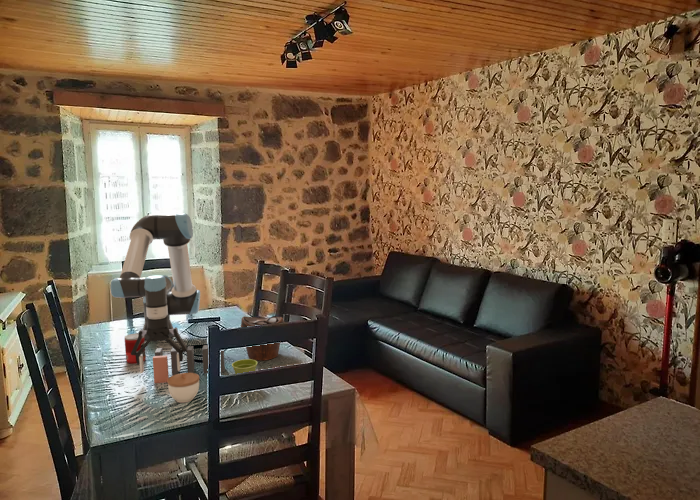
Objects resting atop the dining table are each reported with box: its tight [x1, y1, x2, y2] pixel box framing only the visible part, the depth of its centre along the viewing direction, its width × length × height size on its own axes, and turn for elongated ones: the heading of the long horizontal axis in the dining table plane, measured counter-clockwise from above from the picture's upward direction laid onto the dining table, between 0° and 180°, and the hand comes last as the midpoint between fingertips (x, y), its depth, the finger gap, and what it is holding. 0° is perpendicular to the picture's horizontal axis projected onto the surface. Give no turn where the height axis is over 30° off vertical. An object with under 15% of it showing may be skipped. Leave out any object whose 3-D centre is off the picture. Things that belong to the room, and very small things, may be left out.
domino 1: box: [154, 347, 164, 356], centre depth 210 cm, size 5×2×10 cm, turn 10°
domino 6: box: [220, 350, 226, 373], centre depth 214 cm, size 5×2×10 cm, turn 10°
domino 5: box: [201, 344, 209, 374], centre depth 213 cm, size 5×2×10 cm, turn 9°
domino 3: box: [170, 347, 180, 376], centre depth 211 cm, size 5×2×10 cm, turn 9°
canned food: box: [124, 332, 147, 365], centre depth 225 cm, size 8×8×11 cm
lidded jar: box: [167, 372, 200, 403], centre depth 187 cm, size 11×11×9 cm
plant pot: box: [231, 358, 258, 374], centre depth 198 cm, size 9×9×9 cm
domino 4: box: [186, 345, 196, 373], centre depth 212 cm, size 5×2×10 cm, turn 9°
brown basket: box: [240, 315, 285, 361], centre depth 230 cm, size 18×20×18 cm
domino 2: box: [152, 354, 170, 384], centre depth 203 cm, size 5×2×10 cm, turn 99°
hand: (160, 370), depth 202 cm, fingers open, 13 cm apart
